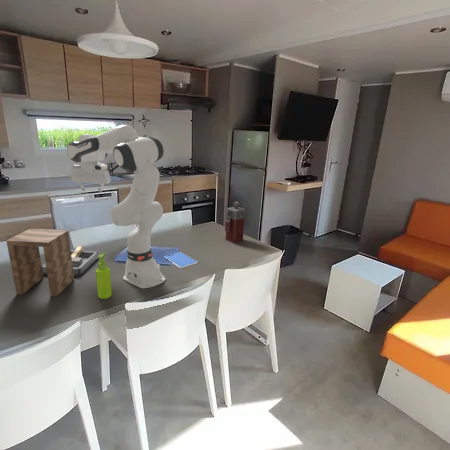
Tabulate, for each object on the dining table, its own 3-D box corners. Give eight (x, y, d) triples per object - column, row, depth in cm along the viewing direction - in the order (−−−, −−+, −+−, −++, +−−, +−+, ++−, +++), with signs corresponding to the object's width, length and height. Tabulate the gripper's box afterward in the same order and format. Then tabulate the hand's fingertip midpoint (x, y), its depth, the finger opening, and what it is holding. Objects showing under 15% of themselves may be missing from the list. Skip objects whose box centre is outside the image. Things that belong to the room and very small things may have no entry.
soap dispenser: (114, 290, 142) (111, 251, 136) (109, 298, 135) (106, 258, 129) (101, 290, 141) (98, 251, 135) (96, 298, 135) (92, 257, 129)
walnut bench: (38, 277, 150) (30, 228, 142) (74, 279, 150) (68, 230, 142) (16, 294, 135) (6, 240, 127) (56, 296, 135) (48, 242, 127)
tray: (64, 256, 175) (63, 250, 174) (98, 258, 175) (97, 251, 174) (41, 273, 154) (40, 266, 153) (80, 275, 154) (79, 268, 153)
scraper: (71, 248, 175) (69, 243, 173) (91, 249, 175) (90, 244, 173) (58, 265, 162) (56, 260, 160) (80, 266, 162) (79, 261, 160)
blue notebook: (162, 258, 181) (162, 256, 180) (180, 253, 189) (180, 251, 188) (180, 269, 167) (180, 267, 167) (198, 263, 175) (198, 261, 175)
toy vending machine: (222, 240, 212) (224, 201, 203) (234, 237, 219) (236, 199, 210) (231, 244, 205) (233, 204, 197) (243, 240, 213) (245, 202, 204)
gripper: (67, 165, 158) (70, 191, 163) (105, 167, 158) (107, 193, 162) (73, 164, 164) (76, 188, 169) (110, 165, 164) (112, 190, 168)
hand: (91, 191), depth 165 cm, fingers open, 8 cm apart
